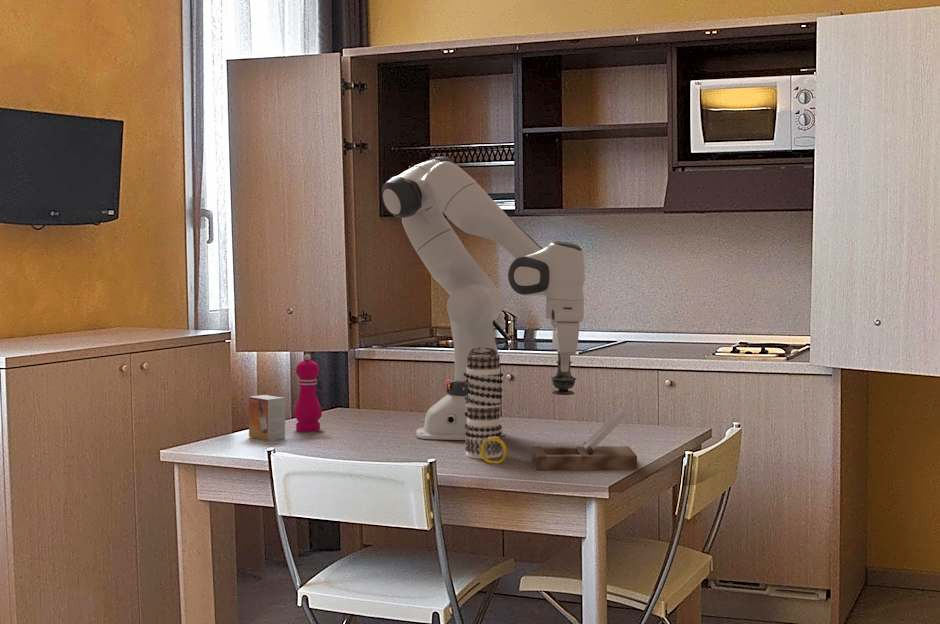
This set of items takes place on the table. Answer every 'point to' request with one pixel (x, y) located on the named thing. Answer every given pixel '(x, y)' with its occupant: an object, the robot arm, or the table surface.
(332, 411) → the table surface
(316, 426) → the pepper mill
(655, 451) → the table surface
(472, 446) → the decorative candle
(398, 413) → the table surface
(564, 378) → the weathered chess piece
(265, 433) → the small box
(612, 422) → the latch bar
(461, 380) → the robot arm
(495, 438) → the yellow faceted ring
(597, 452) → the walnut holder
